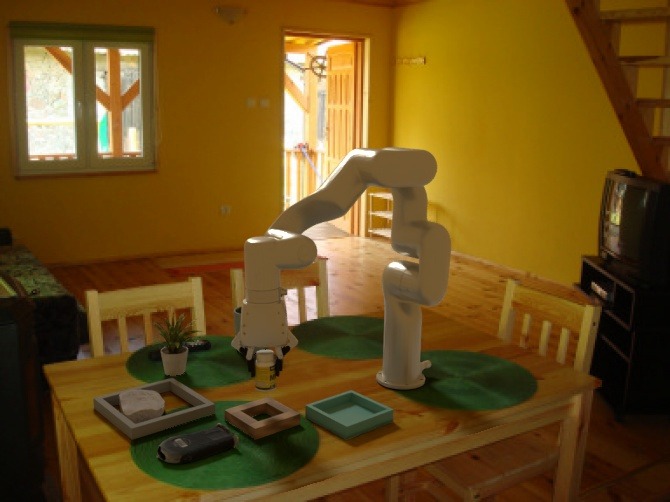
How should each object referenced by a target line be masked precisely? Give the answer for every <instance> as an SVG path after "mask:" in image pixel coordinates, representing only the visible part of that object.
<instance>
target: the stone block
mask: <svg viewBox="0 0 670 502" xmlns="http://www.w3.org/2000/svg"><path fill="white" fill-rule="evenodd" d="M165 403H166V401H165V400H164V399H163V397H162V396H161V393H160V394H159V393H158V392H155V391H152V390H141V389H139V390H130V391H126V392H123V393H122V394H120V395H119V404H118V405H119V410H120V411H119V412H120V413H122V414H123V415H124V416H125V417H127V418H128V419H129V420H131V421H132V422H133V423H134V424H137V423H141V422H144V421H148V420H151V419H155V418H158V417H161V416H163V414H164V412H165V409H166V408H165V406H166V404H165Z"/></svg>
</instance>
